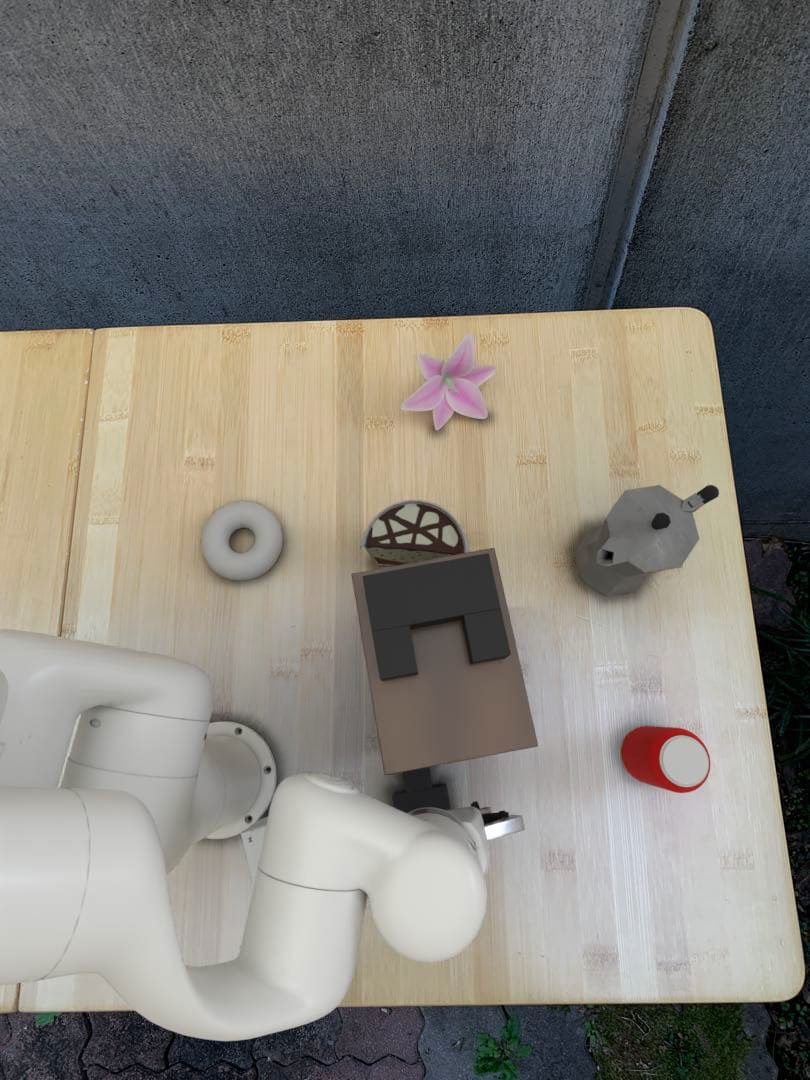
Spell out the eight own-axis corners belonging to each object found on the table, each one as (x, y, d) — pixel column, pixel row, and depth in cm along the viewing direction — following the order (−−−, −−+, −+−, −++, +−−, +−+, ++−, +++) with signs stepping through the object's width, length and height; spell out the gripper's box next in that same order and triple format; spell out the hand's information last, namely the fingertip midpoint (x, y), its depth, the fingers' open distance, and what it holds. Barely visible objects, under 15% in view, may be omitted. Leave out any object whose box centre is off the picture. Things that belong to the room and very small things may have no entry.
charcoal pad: (402, 848, 76) (402, 854, 73) (388, 765, 78) (387, 767, 75) (455, 838, 76) (457, 843, 73) (440, 755, 78) (441, 757, 75)
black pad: (381, 681, 54) (379, 679, 51) (365, 583, 56) (362, 575, 53) (506, 657, 54) (511, 654, 51) (485, 561, 56) (488, 552, 53)
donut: (220, 595, 83) (296, 565, 84) (211, 590, 80) (291, 559, 80) (195, 522, 85) (270, 493, 86) (186, 514, 82) (263, 484, 83)
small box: (273, 868, 75) (251, 893, 65) (261, 816, 77) (237, 833, 66) (343, 846, 76) (332, 867, 66) (330, 795, 77) (317, 807, 67)
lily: (386, 422, 89) (405, 425, 80) (400, 330, 87) (421, 322, 78) (472, 436, 92) (498, 440, 83) (487, 348, 90) (516, 342, 81)
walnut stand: (395, 754, 78) (384, 775, 52) (372, 617, 82) (351, 573, 56) (498, 735, 78) (538, 746, 52) (470, 599, 82) (494, 547, 56)
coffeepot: (589, 621, 81) (636, 596, 64) (545, 555, 83) (578, 514, 66) (693, 555, 83) (766, 513, 66) (647, 493, 85) (706, 436, 68)
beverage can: (657, 717, 78) (698, 718, 67) (681, 770, 77) (728, 780, 65) (608, 737, 78) (642, 741, 66) (632, 791, 77) (671, 805, 65)
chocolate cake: (468, 524, 85) (475, 500, 75) (465, 573, 83) (471, 554, 73) (370, 515, 85) (364, 490, 75) (365, 563, 84) (358, 544, 74)
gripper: (327, 933, 52) (353, 881, 69) (549, 891, 52) (521, 849, 69) (313, 830, 54) (342, 803, 71) (527, 790, 54) (505, 772, 71)
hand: (430, 826), depth 70 cm, fingers open, 9 cm apart
